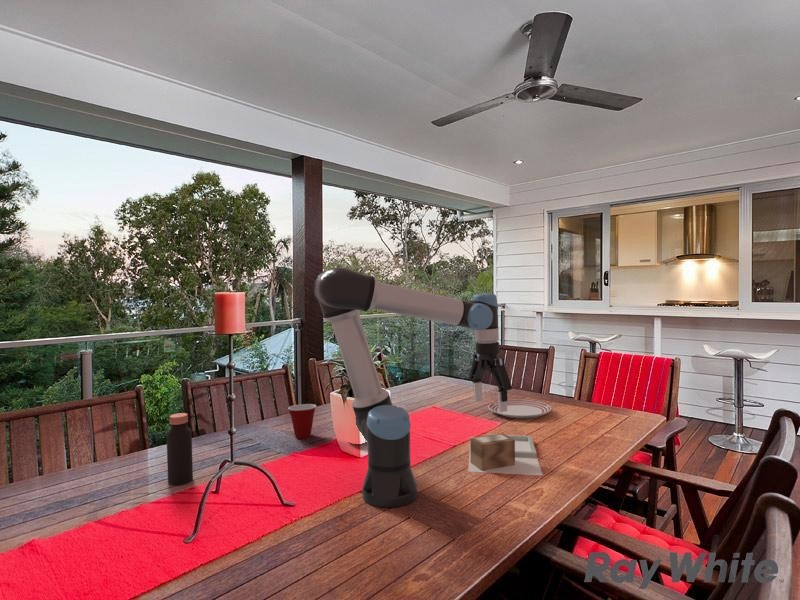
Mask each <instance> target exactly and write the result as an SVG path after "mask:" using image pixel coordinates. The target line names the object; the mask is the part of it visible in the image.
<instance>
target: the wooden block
mask: <svg viewBox="0 0 800 600" xmlns="http://www.w3.org/2000/svg"><path fill="white" fill-rule="evenodd" d="M506 435H507V434H505V433H503V432H502V433H497V434H495V435H488V436H487V435H482V436H476V437H475V436H473V437H474V438H470V437H469V438H470V439H469V451H470V457H471V463H472V464H473V465H474V466H476V467H477V468H479V469H480V470H481V471H484V470H489V469H495V468H501V467H507V466H512V465H515V440H514V439H512V438H510V437H508V436H506Z"/></svg>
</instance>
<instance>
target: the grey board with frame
mask: <svg viewBox="0 0 800 600" xmlns="http://www.w3.org/2000/svg"><path fill="white" fill-rule="evenodd" d="M488 435H495V434H494V433H493V434H492V433H490V434H489V433H487V434H486V436H488ZM505 435H506V436H508V437H510V438H512V439H514V440H515V465H512V466H507V467H501V468H495V469H489V470H484V471H481V470H480V469H479V468H477V467H476V466H474V465H473V464H472V463H471V457H470V450H469V457H468V468H467V470H468V471H467V472H470V473H471V472H472V473H488V474H489V473H490V474H507V475H512V474H513V475H524V476H525V475H527V476H543V471H542V469H541V466H540V463H539V460H538V456H537V454H538V453H537V451H536V447H535V445H534V444H535V443H534V442H533V438H532V435H519V434H517V435H516V434H505ZM474 437H475V436H471V437H469V438H474Z"/></svg>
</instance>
